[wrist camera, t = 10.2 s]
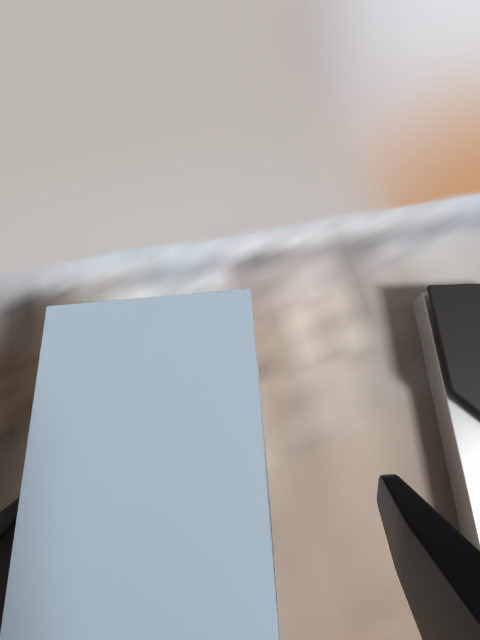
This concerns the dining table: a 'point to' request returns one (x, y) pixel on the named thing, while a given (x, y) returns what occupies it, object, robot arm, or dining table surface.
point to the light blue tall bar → (145, 477)
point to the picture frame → (455, 388)
